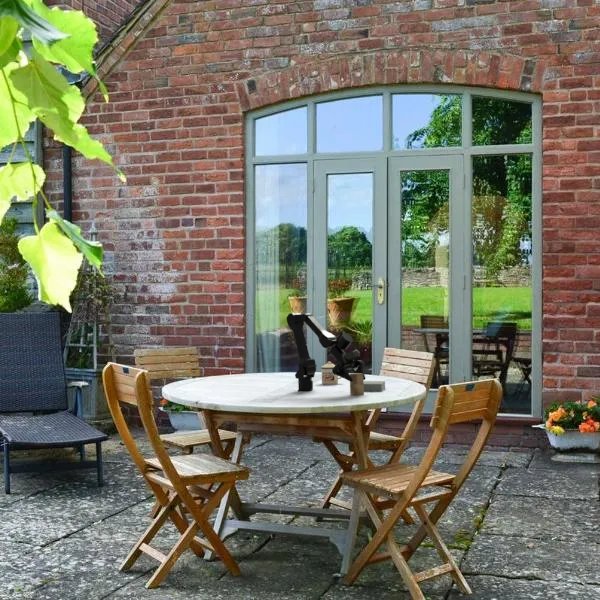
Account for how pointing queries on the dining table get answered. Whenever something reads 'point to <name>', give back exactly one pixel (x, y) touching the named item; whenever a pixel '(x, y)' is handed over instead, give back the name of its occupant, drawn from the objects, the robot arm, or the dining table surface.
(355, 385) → the bronze block
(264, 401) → the dining table surface
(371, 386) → the gray box
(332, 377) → the teacup with lid
